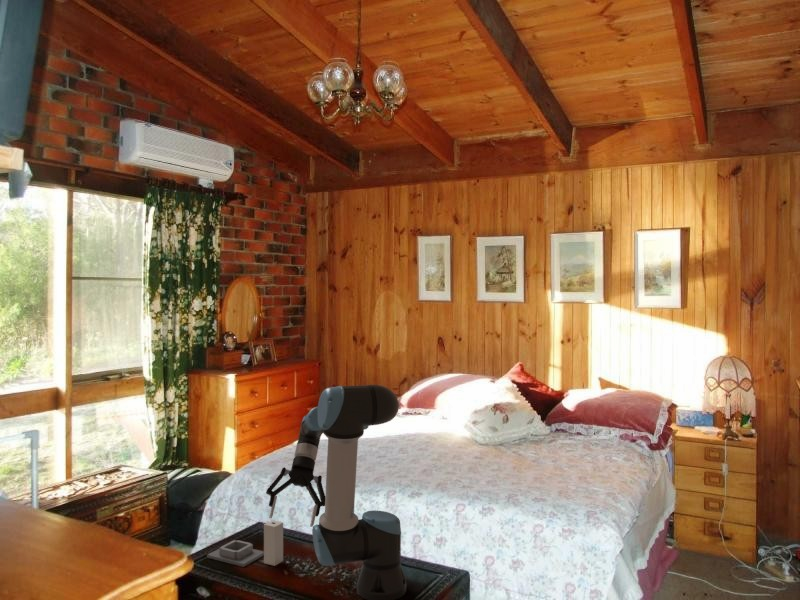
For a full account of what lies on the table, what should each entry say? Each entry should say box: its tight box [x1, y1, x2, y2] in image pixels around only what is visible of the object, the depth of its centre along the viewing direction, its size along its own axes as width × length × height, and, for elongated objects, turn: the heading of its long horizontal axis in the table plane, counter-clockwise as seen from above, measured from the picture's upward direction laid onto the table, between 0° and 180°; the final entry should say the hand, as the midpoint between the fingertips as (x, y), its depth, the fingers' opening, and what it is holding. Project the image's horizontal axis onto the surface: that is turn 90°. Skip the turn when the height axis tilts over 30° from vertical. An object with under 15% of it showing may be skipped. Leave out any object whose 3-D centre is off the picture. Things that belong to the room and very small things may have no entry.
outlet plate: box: [206, 539, 264, 568], centre depth 218 cm, size 16×11×4 cm
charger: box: [263, 519, 284, 567], centre depth 214 cm, size 4×4×13 cm
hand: (291, 521), depth 207 cm, fingers open, 13 cm apart
